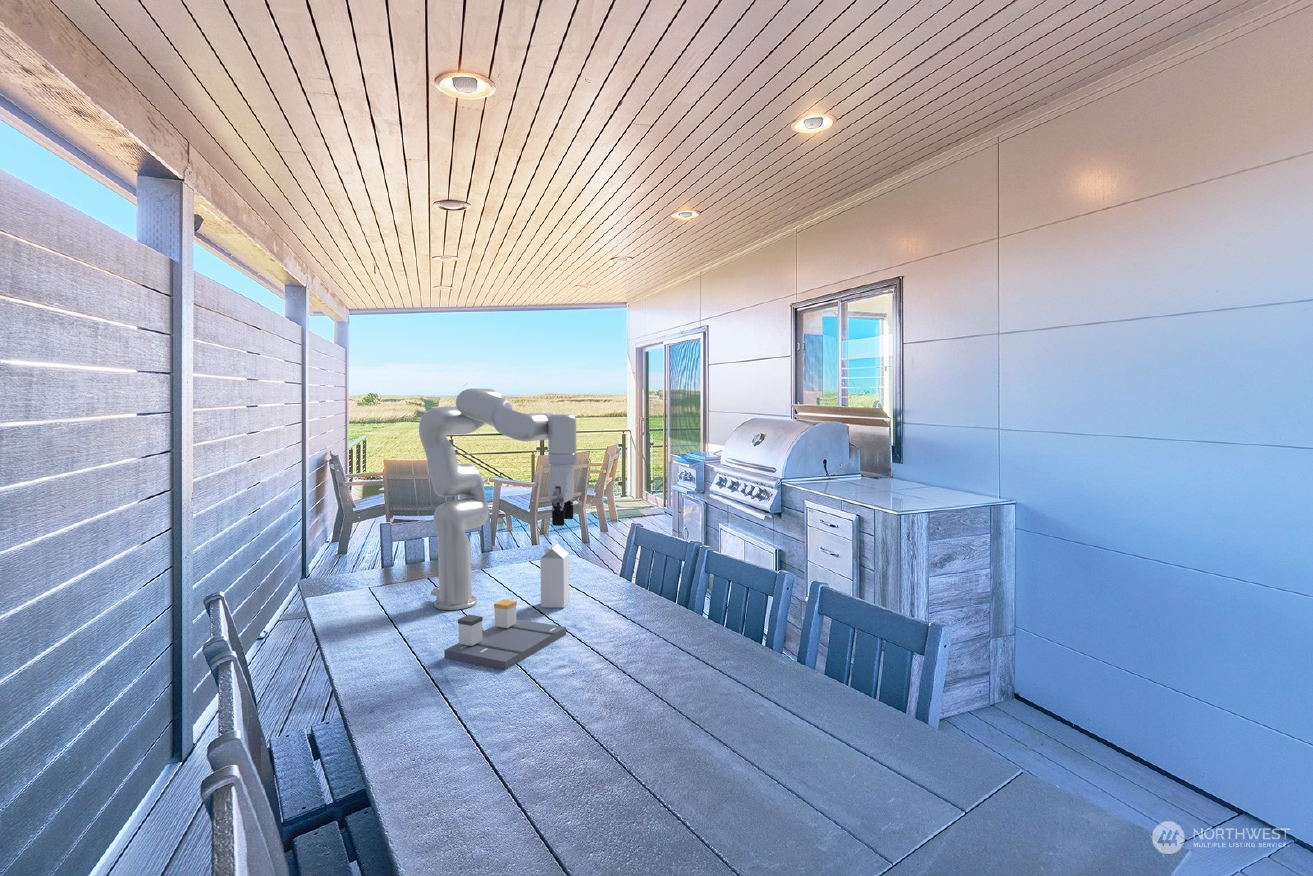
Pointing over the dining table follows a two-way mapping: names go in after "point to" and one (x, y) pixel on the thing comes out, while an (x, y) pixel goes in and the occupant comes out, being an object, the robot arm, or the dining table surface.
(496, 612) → the fader orange
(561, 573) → the milk carton
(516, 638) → the console
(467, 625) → the block
